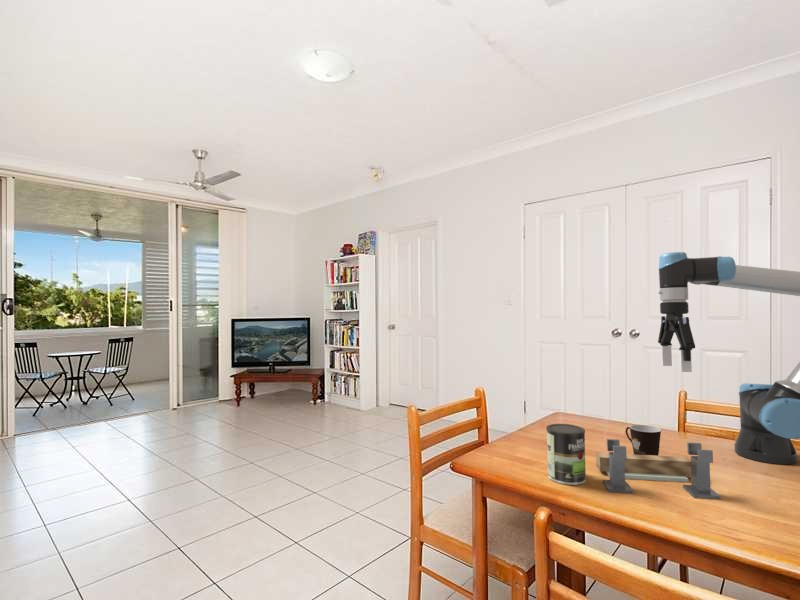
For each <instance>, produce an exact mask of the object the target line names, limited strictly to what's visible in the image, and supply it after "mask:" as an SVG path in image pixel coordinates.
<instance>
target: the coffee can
mask: <svg viewBox="0 0 800 600" xmlns="http://www.w3.org/2000/svg"><path fill="white" fill-rule="evenodd" d="M545 428H546V429H545V430H546V442H547V443H546V445H547V446H546V447H547V452H546V453H547V477H548V479H549V480H551V481H553V482H554V483H557V484H561V485H565V486H578V485H583V484H585V483H586V482H587V478H586V477H587V476H586V472H587V471H586V438H585V435H586V430H585V428H583V427H581V426H578V425H574V424H567V423H553V424H548V425H547V426H546V427H545Z"/></svg>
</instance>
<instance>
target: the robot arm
mask: <svg viewBox="0 0 800 600" xmlns="http://www.w3.org/2000/svg"><path fill="white" fill-rule="evenodd" d="M687 255H688V254H687V253H686V252H685V251H684V252H683V251H679V252H678V251H675V252H674V251H673V252H665V253H662V254H660V256H659V261H658V278H659V291H658V292H657V293H658V294H659V300H660V303H659V308H660V309H659V311H660V314H662V315H664V316H661V319H660V320H661V321H660V322H661V323H660V328H659V334H658V341H657V343H658V344H660V346H661V348H660V349H661V367H672V366H673V362H672V361H673V359H672V358H673V357H672V356H673V355H672V346H673V344H672V339H673V337H674V334H675V336H676V339H677V341H678V343H679V346H680V347H679V348H678V350H679V365H680V366H679V367H680V372H681V373H692V371H693V369H692V368H693V367H692V350H693V349H696V344H695V340H694V336H693V333H692V329H691V325H690V318H689V317H688V316H684V315H687V314H689V303H688V300H689V285H688V283H689V284H692V285H697V286H699V285H706V286H713V287H714V286H716V287H724V288H729V289H730V288H731V289H739V290H748V291H756V292H757V291H758V292H763V293H772V294H780V295H785V296H786V295H787V296H796V297H800V271H795V270H787V269H778V268H777V269H776V268H768V267H758V266H750V265H749V266H748V265H740V264H739V265H738V264H737V265H736V262H735V259H734V258H733V257H731V256H721V255H720V256H710V257H696V258H695V257H694V258H693V257H692V258H691V257H688V256H687ZM661 301H662V302H661ZM738 397H739V417H740V430H739V432H738V435H737V436H736V440H735V443H734V453H735V454H736V455H738V456H740V457H743V458H746V459H749V460H752V461H757V462H761V463H767V464H768V463H769V464H776V465H793V464H797V463H798V454H797V451H796V449H795V446H794V444H793V442H792V440H800V361H798V363H797V365H796V366H795V367H794V368H793V370H792V371H791V372H790V373H789V375H788V376H787V377H786V378H785V379H781V380H777V381H776V380H775V382H774V383H773V384H772V383H771V384H767V383H746V382H745V383H741V384H740V385H739V392H738Z"/></svg>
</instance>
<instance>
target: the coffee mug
mask: <svg viewBox="0 0 800 600" xmlns="http://www.w3.org/2000/svg"><path fill="white" fill-rule="evenodd" d="M628 431H629V432H630V436H629V434H628V433H629V432H628ZM661 434H662V429H661V428H660V427H657V426H653V425H647V424H632V425H630V426H627V427H626V428H625V435H626V437H627V438H628V440H629V442H630V443H631V445H632V451H633V454H634V455H655V456H660V455H659V452H660V445H661Z"/></svg>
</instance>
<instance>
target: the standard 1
mask: <svg viewBox="0 0 800 600" xmlns="http://www.w3.org/2000/svg"><path fill="white" fill-rule="evenodd" d="M606 451H608V453H609V474H610V477H609V480H608V479H601V481H602V482H601V483H602V484H603V486H604V487H605V489H606V490H607V492H608V493H617V494H618V493H619V494H632V495H633V494H634V489H633V488H632V487H631V485H630V484H629V483H628V482H627V481H626V479H625V460H624V459H627V458H626V454H627V446H625V445H620V440H619V439H615V438H614V439H611V438H610V439H609V438H606Z"/></svg>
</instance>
